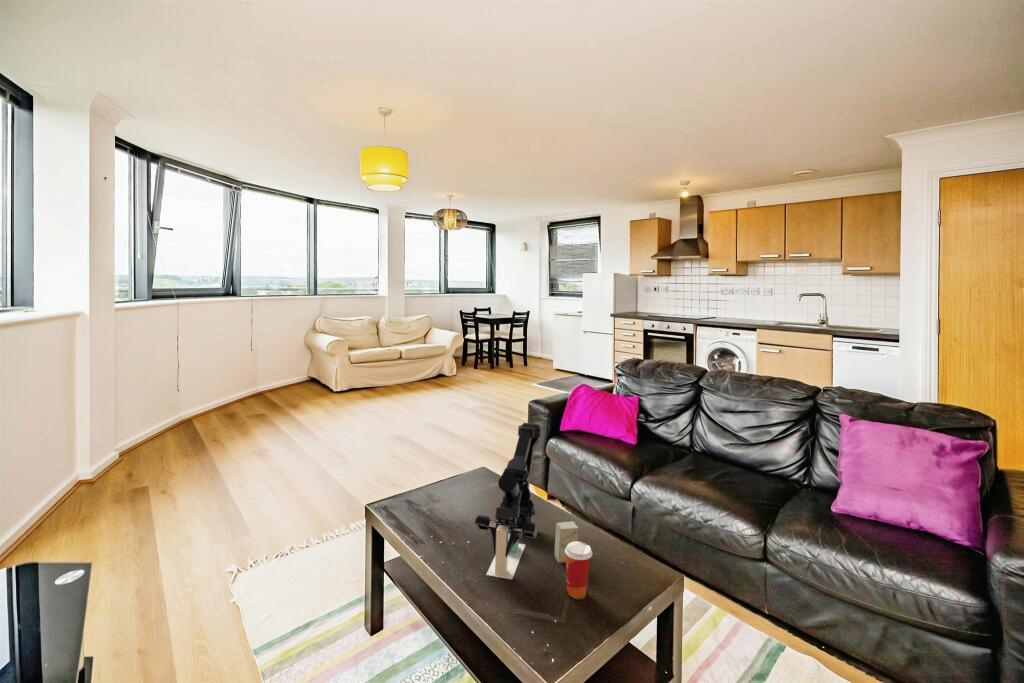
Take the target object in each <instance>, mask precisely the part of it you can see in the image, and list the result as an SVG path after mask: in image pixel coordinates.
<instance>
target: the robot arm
mask: <svg viewBox="0 0 1024 683" xmlns="http://www.w3.org/2000/svg"><path fill="white" fill-rule="evenodd" d="M517 429H518V430H517V436H518V440H517V443H516V447H515V451H514V454H513V457H512V459H510V460H509V461H508V462H507V465H506V468H504V470H503V472H502V474H501V476H500V477H499V479H498V481H497V482H498V483H497V484H498V488H499V490H500V493H501V496H502V498H501V502H500V504H499V505H500V506H497V507H496V508H495V514H494V518H495V519H496V520H492V519H491V518H490V516H487V515H480V514H478V515H477V516H476V517H475V521H474V524H475V526H476V528H477V529H478V530H480V531H481V530H482V531H487V532H489V534H490V535H491V537H492V543H493V544H492V546H493V553H494V554H493V555H494V556H495V555H496V530H497V528H498V526H499V525H502V526H509V531H510V533H509V534H510V538H509V542H508V545H507V549H506V554H505V557H507V556H508V555H509V553H510V551H511V549H512V548H513V546H514V545H515V543H516V542H517V541H518V539H519V540H520V539H521V540H522V539H523V533H524V535H525V537H526V538H532V539H536V538H537V533H538V528H537V526H536V524H535V523H534V522H532V517H533V516H535V515H536V508H535V506H536V505H535V502H534V500H533V494H532V492H531V490H530V484H531V477H532V476H531V475H532V469H533V468H532V467H533V460H534V454H535V448H536V447H537V446H538V444H540V441H541V438H542V436H543V427H542V426H540V423H532V422H523V423H522V424H520V425H518V428H517Z"/></svg>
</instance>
